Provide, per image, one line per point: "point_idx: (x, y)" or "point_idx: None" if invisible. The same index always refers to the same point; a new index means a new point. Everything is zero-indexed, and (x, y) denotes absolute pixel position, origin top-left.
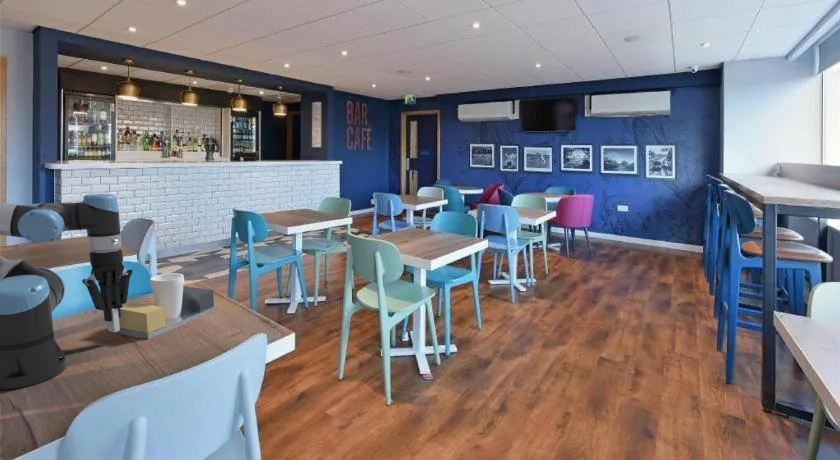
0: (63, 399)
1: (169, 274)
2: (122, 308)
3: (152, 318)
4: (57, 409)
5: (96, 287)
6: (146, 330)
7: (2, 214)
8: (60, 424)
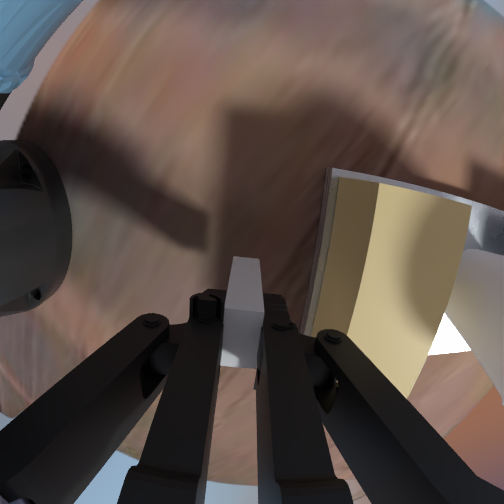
0: (25, 380)
1: None
2: (381, 243)
3: None
4: (17, 389)
5: (59, 499)
6: None
7: None
8: (17, 411)
